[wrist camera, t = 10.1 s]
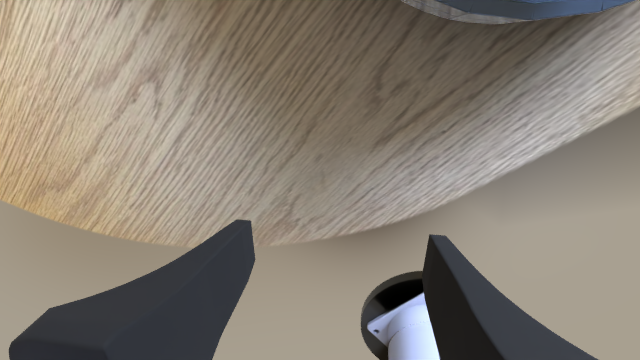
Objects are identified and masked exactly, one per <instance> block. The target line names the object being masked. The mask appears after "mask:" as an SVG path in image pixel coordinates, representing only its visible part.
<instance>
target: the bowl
mask: <svg viewBox="0 0 640 360" xmlns="http://www.w3.org/2000/svg"><path fill="white" fill-rule="evenodd" d="M401 1H403V2H405V3H406V4H408V5H410V6H412V7H414V8H416V9H419V10H422V11H424V12H427V13H430V14H432V15H435V16H438V17H442V18H445V19H449V20H456V21H461V22H470V23H483V24H492V25H494V24H495V25H497V24H506V23H515V22H524V21H532V20H541V19H549V18H557V17H566V16H574V15H582V14H591V13H599V12H603V11H606V10H609V9H612V8H615V7H618V6H621V5H624V4H627V3H630V2H633V1H636V0H401Z"/></svg>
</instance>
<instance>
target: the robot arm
mask: <svg viewBox="0 0 640 360" xmlns="http://www.w3.org/2000/svg"><path fill="white" fill-rule="evenodd" d="M254 262H255V253H254V245H253V236H252V227H251V221H248V220H235V221H234V222H232V223H231V224H229V225H228V226H226V227H225V228H223V229H222V230H220V231H219V232H218V233H216V234H215V235H213V236H212V237H210V238H209V239H207V240H206V241H204V242H203V243H202V244H200V245H199V246H197V247H195V248H194V249H192V250H191V251H189V252H187V253H186V254H185V255H182V256H181V257H179V258H178V259H176V260H174V261H172V262H170V263H169V264H167V265H165V266H163V267H161V268H159V269H157V270H155V271H153V272H151V273H149V274H147V275H145V276H142V277H140V278H137V279H135V280H133V281H131V282H128V283H126V284H124V285H121V286H118V287H116V288H113V289H111V290H108V291H105V292H102V293H99V294H96V295H93V296H91V297H87V298H84V299H81V300H77V301H74V302H70V303H67V304H64V305H60V306H56V307H53V308H49V309H48V310H47V311H46V312H45V313H44V314H43V315H42V316H40V317H39V318H38V319H37V320H36V321H35V322H34V323H33V324H32V325H30V326H29V327H28V328H27V329H26V330H25V331H24V332H23V333H22V334H20V335H19V336H18V337H17V338H16V339H15V340H14V341H13V342H12V343H11V345H10V347H9V357H10V360H212V358H213V356H214V353H215V350H216V348H217V345H218V342H219V339H220V337H221V335H222V333H223V331H224V329H225V326H226V325H227V322H228V321H229V319H230V317H231V315H232V312H233V311H234V309H235V307H236V305H237V303H238V301H239V298H240V297H241V294H242V292H243V290H244V288H245V286H246V284H247V282H248V279H249V277H250V274H251V271H252V268H253V265H254ZM422 278H423V287H424V291H422V292H421V293H419V294H417V295H415V296H414V297H412V298H410V299H408V300H407V301H405V302H403V303H401V304H400V305H398V306H396V307H394V308H393V309H391V310H389V311H387V312H386V313H384V314H382V315H380V316H379V317H377V318H375V319H373V320H372V321H370V322H368V324H367V329H368V330H369V331H370V332H371V333H372V334H373V335H375V336H376V337H377V338H378V339H379V340H380V341H381V342H382V343H383V344H384V345H386V346H387V347H388V357H389V360H598V359H596V358H594V357H593V356H591V355H589V354H587V353H586V352H584V351H583V350H581V349H579V348H578V347H576V346H574V345H573V344H571V343H569V342H568V341H566V340H565V339H563V338H561V337H560V336H558V335H557V334H555V333H554V332H552V331H551V330H549V329H548V328H546V327H545V326H543V325H542V324H541V323H539V322H538V321H536V320H535V319H533V318H532V317H531V316H529V315H528V314H527V313H525V312H524V311H523V310H521V309H520V308H519V307H518V306H516V305H515V304H514V303H513V302H512V301H510V300H509V299H508V298H506V297H505V296H504V295H503V294H502V293H501V292H499V290H497V289H496V288H495V287H494V286H493V285H492V284H491V283H490V282H489V281H488V280H487V279H486V278H485V277H484V276H483V275H481V273H479V271H478V270H476V268H475V267H474V266H473V265H472V264H471V263H470V262H469V261H468V260H467V259H466V258H465V257H464V256H463V255H462V253H461V252H460V251H459V250H458V249H457V248H456V247H455V246H454V244H453V243H452V242H451V241H450V240H449V239H448V238H447V237H446V236H441V235H429V240H428V245H427V251H426V257H425V262H424V268H423V273H422ZM375 329H377V330H375Z"/></svg>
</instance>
